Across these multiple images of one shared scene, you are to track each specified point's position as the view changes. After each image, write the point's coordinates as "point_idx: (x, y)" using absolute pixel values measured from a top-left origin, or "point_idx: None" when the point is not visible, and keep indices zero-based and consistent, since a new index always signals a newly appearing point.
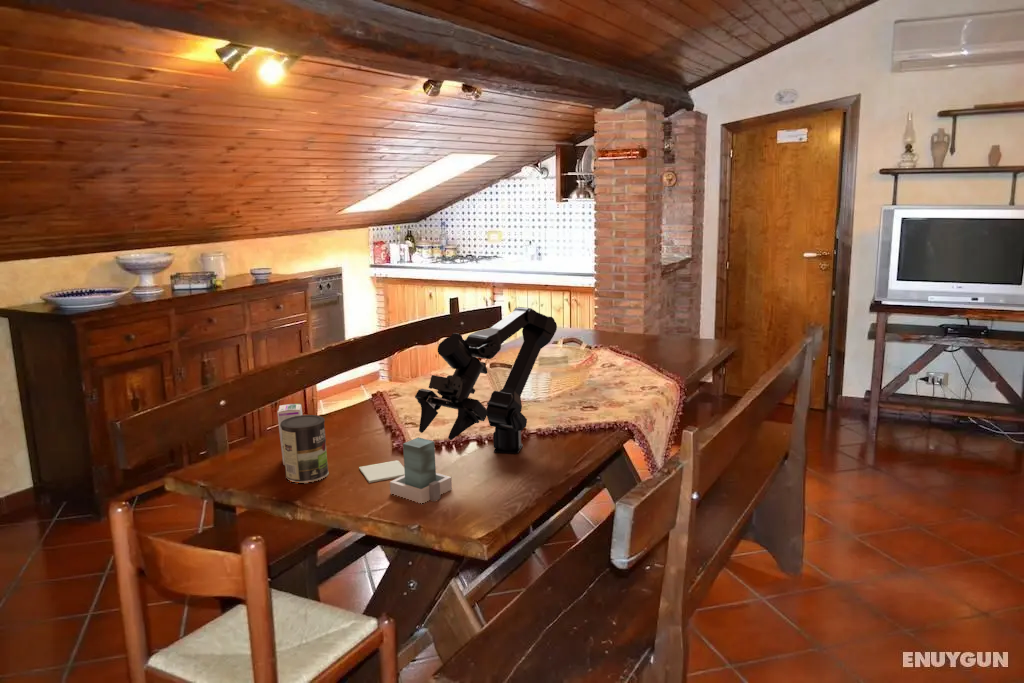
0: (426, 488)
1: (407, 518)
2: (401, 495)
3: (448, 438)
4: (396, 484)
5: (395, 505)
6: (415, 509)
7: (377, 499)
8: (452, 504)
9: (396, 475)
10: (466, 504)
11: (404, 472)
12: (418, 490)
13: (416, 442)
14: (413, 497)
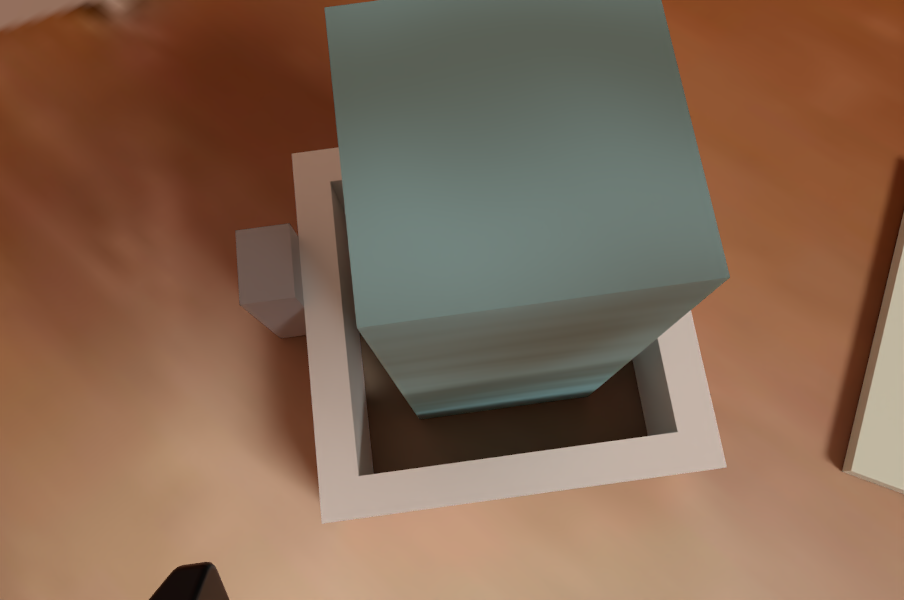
0: (306, 215)
1: (230, 21)
2: None
3: (208, 563)
4: None
5: None
6: (289, 124)
7: None
8: (142, 334)
9: (884, 367)
10: (57, 402)
11: (899, 454)
12: (326, 151)
13: (541, 114)
14: None
